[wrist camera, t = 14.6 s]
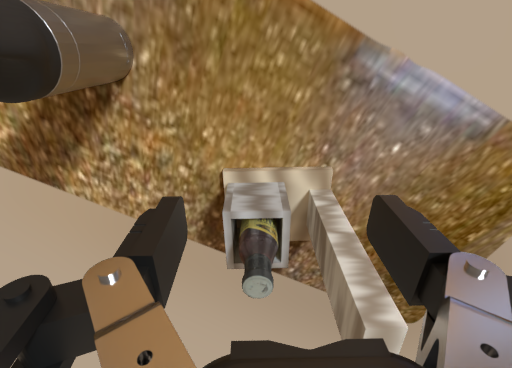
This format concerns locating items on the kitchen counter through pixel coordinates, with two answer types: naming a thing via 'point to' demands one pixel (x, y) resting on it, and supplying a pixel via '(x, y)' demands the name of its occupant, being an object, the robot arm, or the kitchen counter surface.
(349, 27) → the kitchen counter surface
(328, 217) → the grey holder stand
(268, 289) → the sauce bottle
